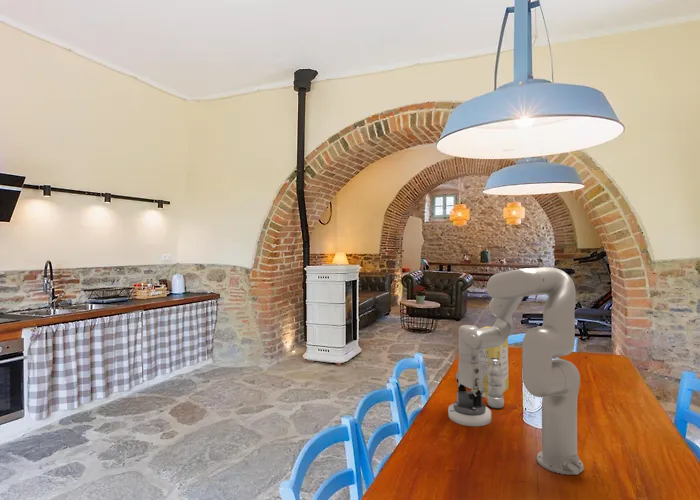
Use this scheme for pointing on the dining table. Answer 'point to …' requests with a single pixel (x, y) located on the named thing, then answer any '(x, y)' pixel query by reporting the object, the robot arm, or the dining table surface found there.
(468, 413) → the dial knob
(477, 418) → the dial housing
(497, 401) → the plastic bottle
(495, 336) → the robot arm
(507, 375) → the pasta box
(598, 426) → the dining table surface
